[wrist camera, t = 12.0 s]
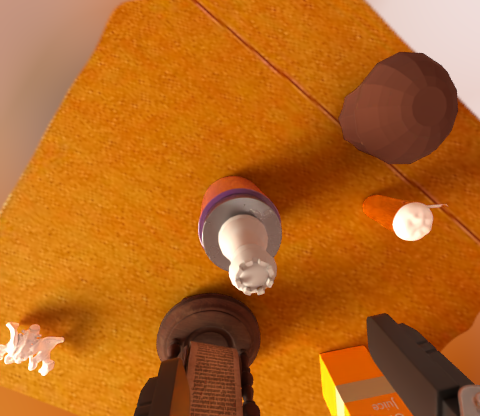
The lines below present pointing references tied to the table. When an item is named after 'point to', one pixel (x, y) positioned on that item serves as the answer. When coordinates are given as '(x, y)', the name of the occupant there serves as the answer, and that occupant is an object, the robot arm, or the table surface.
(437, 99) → the muffin
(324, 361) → the orange juice
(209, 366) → the scroll
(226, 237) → the rook chess piece
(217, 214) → the jar lid
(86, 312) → the table surface
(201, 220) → the jar
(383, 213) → the milkshake
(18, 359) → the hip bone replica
